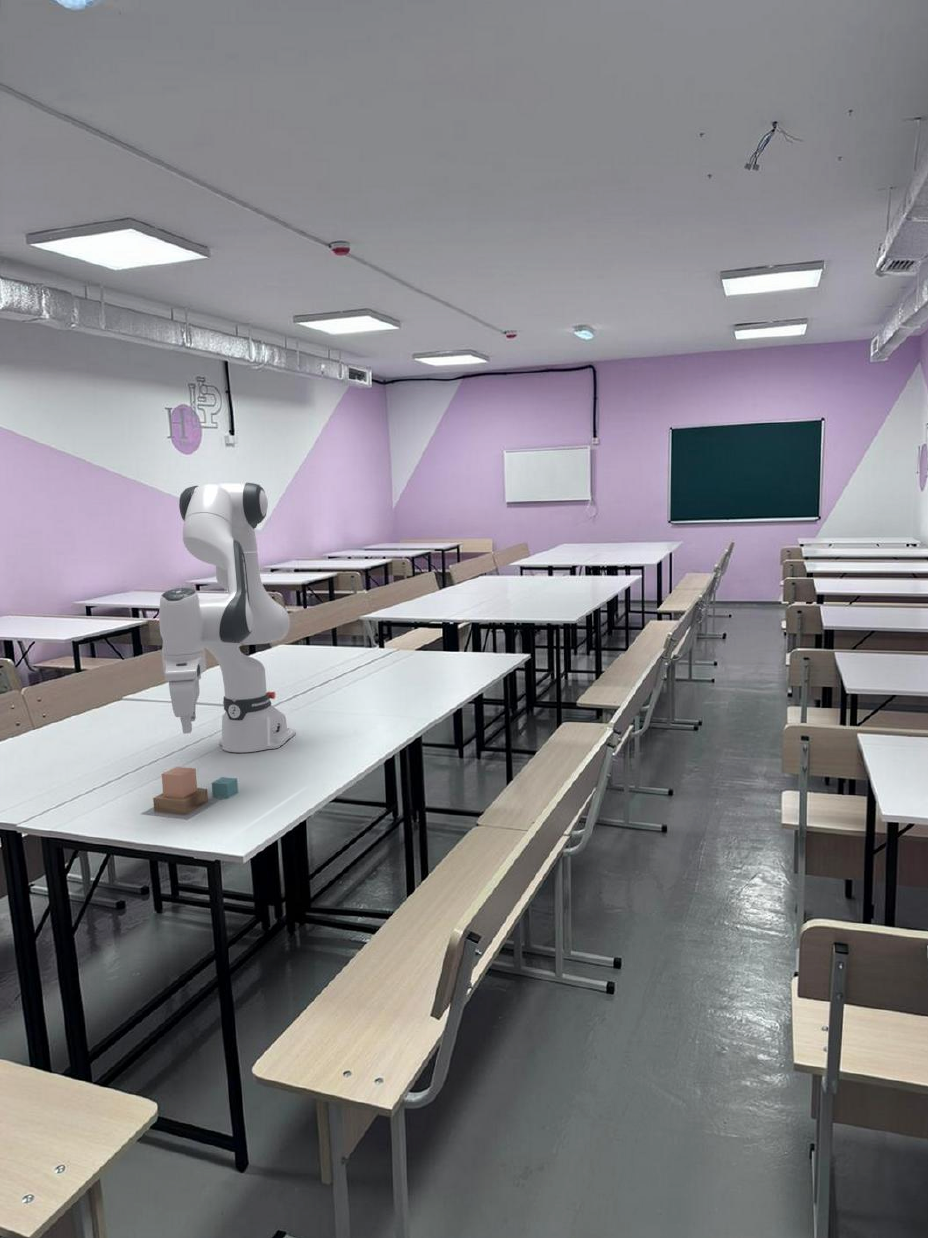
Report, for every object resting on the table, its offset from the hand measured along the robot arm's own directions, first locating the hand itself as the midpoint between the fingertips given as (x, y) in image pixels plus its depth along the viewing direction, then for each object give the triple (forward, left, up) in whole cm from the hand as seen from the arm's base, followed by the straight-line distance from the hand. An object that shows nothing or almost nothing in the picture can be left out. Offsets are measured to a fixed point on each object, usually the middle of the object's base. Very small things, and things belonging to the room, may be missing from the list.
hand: (189, 726), depth 183 cm
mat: (+3, -1, -18) cm, 18 cm away
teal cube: (-6, +4, -18) cm, 19 cm away
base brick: (+3, -1, -17) cm, 18 cm away
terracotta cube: (+3, -1, -14) cm, 15 cm away
